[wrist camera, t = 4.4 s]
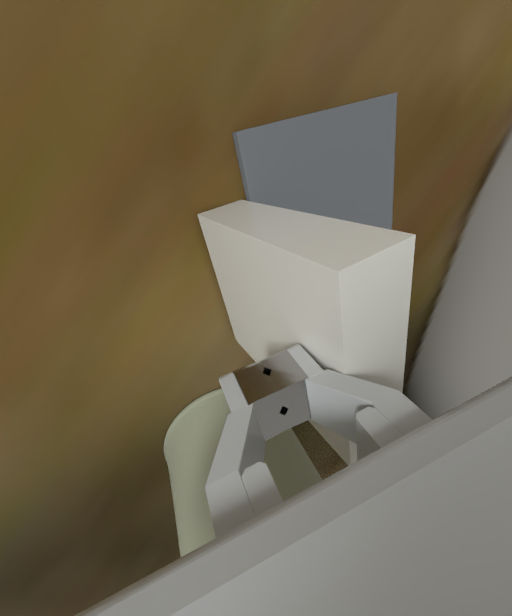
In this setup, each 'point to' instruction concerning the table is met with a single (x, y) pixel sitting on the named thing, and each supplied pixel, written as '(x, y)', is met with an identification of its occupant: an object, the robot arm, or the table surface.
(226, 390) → the robot arm
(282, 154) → the mat
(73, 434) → the table surface
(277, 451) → the pale green cylinder
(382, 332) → the white box
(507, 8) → the table surface
